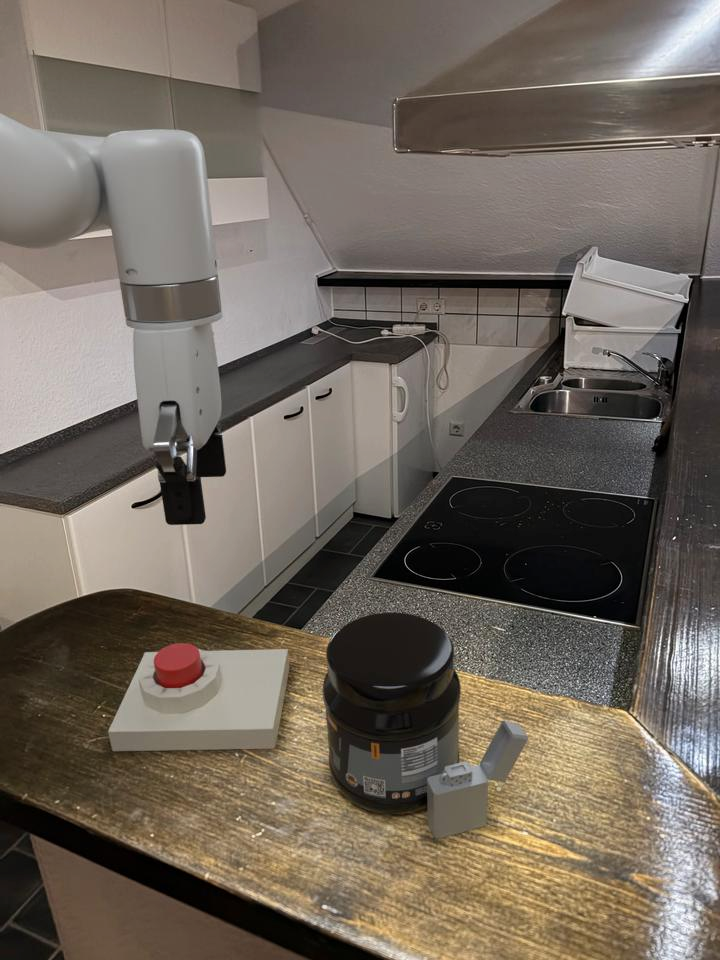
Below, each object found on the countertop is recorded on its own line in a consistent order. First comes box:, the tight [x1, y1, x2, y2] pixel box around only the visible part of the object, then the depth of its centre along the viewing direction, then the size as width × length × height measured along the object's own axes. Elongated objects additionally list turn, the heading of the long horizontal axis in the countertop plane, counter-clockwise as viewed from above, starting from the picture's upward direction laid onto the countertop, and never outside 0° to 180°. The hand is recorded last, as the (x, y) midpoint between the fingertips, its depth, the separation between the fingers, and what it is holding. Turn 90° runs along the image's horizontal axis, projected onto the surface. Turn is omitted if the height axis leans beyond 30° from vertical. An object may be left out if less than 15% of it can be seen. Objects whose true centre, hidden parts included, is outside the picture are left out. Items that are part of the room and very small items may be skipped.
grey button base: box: [107, 648, 291, 752], centre depth 69 cm, size 14×11×4 cm
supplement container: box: [322, 612, 462, 815], centre depth 59 cm, size 10×10×12 cm
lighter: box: [426, 720, 529, 840], centre depth 55 cm, size 7×2×8 cm, turn 105°
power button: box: [154, 642, 202, 688], centre depth 68 cm, size 4×4×2 cm
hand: (198, 497), depth 67 cm, fingers open, 9 cm apart
